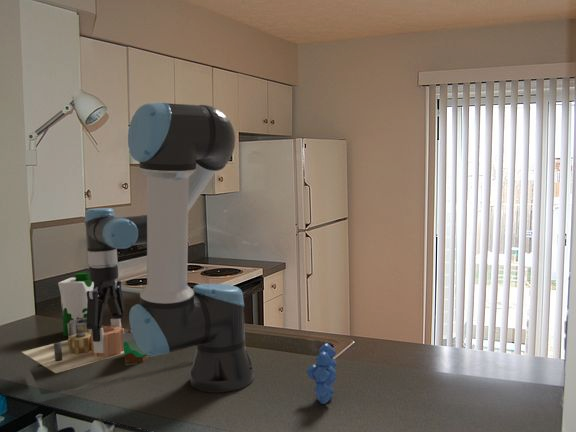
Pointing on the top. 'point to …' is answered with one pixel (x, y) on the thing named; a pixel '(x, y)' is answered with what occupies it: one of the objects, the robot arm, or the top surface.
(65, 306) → the milk carton
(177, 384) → the top surface
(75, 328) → the seated gear
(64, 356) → the carrier
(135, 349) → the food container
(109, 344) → the planet gear
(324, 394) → the grapes
